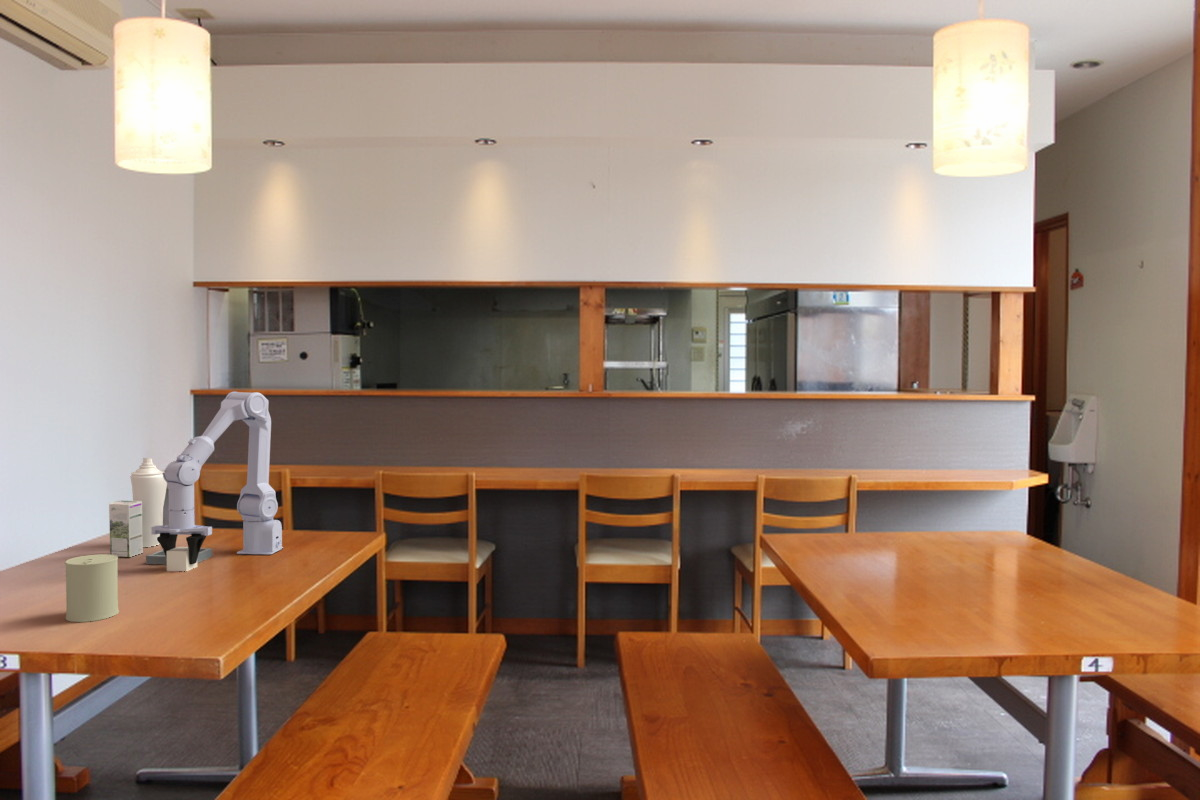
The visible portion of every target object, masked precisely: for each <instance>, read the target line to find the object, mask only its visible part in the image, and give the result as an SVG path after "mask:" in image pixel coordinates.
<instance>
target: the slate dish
mask: <svg viewBox="0 0 1200 800" xmlns="http://www.w3.org/2000/svg"><path fill="white" fill-rule="evenodd" d="M210 557H211V558H213V548H212V547H211V548H210V547H207V548H205V547H204V548H203V547H201V548H200V551H199V554H198V558H197V564H199V563H201V562H204V561H206V560H208V559H211V558H210ZM203 560H204V561H203ZM146 564H163V565H164V566H167V559H166V556H165V553H164V550H163V549H161V550H158V551H155V552H152V553H150V554H148V555H145V565H146ZM163 565H162V566H163Z"/></svg>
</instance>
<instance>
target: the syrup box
mask: <svg viewBox="0 0 1200 800" xmlns="http://www.w3.org/2000/svg"><path fill="white" fill-rule="evenodd" d="M108 506H109V507H108V508H109V509H108V511H109V512H108V513H109V517H108V518H109V554H110V555H116V556H118V558H120V557H131V558H133V557H132V556H134V557H136V556H135V555H137V556H139V555H138V554H140V555H142V554H141V553H143V554H144V551H143V550H144V548H143V542H142V501H133V500H125V499H124V500H116V501H113V502H109V503H108Z"/></svg>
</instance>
